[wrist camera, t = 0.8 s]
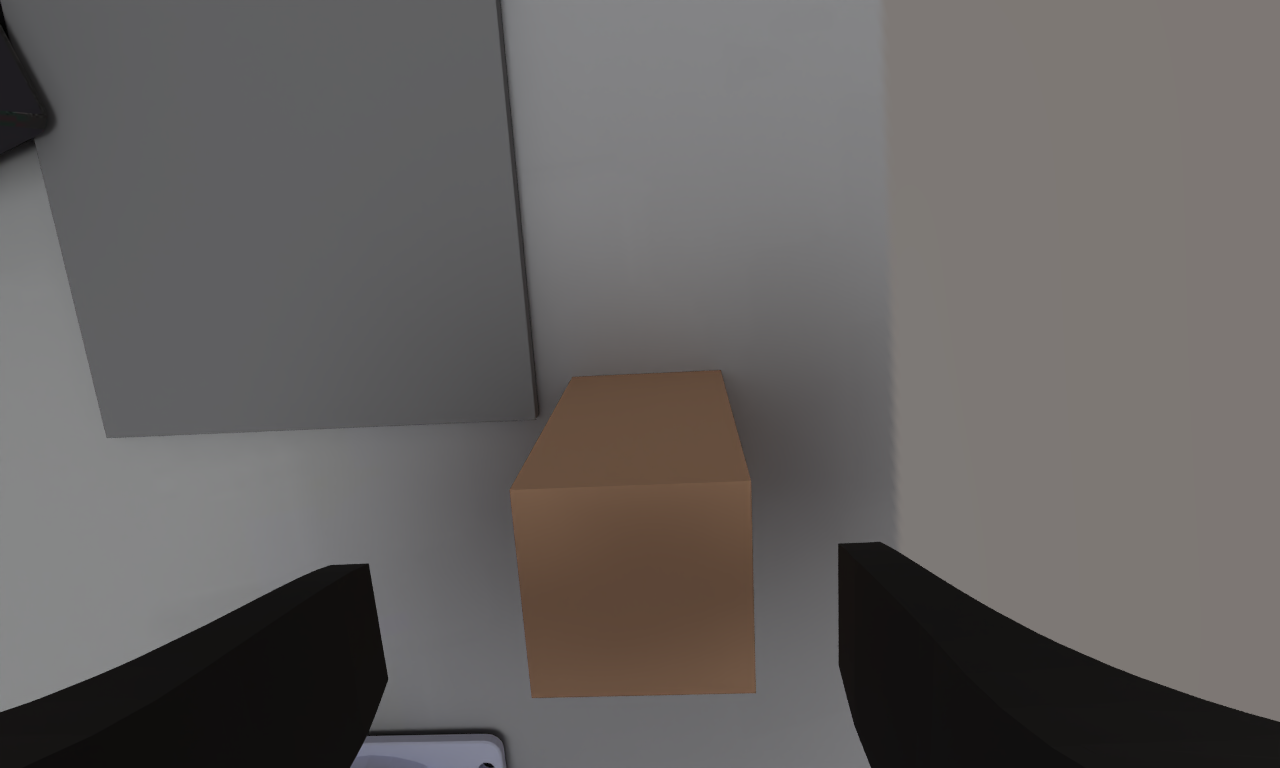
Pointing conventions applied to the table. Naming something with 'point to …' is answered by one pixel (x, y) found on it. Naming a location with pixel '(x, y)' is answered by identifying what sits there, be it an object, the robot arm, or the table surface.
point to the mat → (285, 210)
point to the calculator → (17, 100)
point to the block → (637, 541)
